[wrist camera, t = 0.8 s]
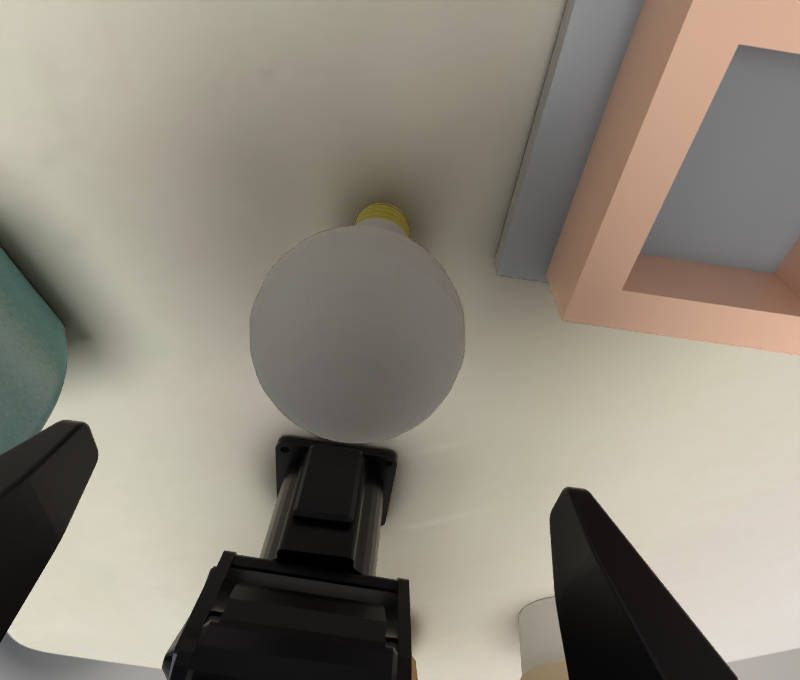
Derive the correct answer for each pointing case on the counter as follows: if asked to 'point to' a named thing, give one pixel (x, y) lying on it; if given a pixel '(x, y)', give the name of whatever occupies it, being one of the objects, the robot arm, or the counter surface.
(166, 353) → the counter surface
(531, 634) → the coffee cup
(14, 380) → the flower pot
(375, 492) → the robot arm
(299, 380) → the light bulb
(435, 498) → the counter surface
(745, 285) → the socket stand
